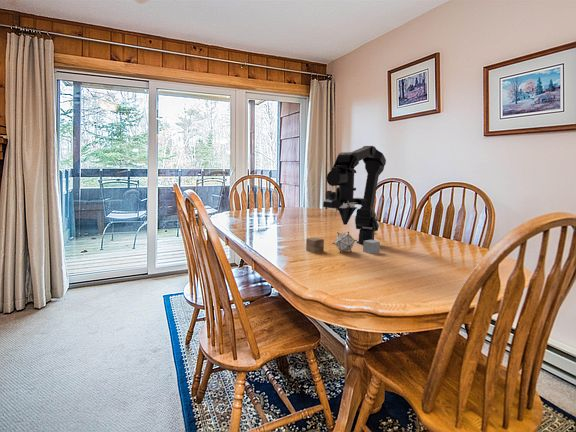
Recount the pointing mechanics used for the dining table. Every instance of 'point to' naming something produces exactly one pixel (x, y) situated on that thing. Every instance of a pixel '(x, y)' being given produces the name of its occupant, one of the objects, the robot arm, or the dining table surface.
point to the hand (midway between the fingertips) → (345, 224)
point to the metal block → (314, 244)
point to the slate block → (371, 246)
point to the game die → (344, 242)
